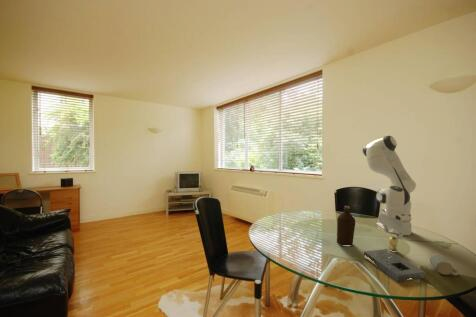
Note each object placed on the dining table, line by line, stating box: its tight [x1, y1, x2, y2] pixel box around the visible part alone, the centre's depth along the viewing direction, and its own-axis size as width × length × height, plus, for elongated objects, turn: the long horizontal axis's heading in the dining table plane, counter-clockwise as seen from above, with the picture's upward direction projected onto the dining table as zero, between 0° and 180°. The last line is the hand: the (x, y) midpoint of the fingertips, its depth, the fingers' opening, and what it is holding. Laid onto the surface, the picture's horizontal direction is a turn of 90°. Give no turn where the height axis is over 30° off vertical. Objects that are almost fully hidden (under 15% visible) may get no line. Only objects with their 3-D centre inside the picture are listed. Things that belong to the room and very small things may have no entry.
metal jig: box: [363, 248, 426, 283], centre depth 121 cm, size 22×16×4 cm
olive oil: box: [336, 205, 356, 246], centre depth 145 cm, size 11×11×25 cm
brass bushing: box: [387, 236, 399, 252], centre depth 137 cm, size 4×4×8 cm
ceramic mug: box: [429, 253, 460, 276], centre depth 117 cm, size 11×8×8 cm
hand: (392, 235), depth 137 cm, fingers open, 8 cm apart
